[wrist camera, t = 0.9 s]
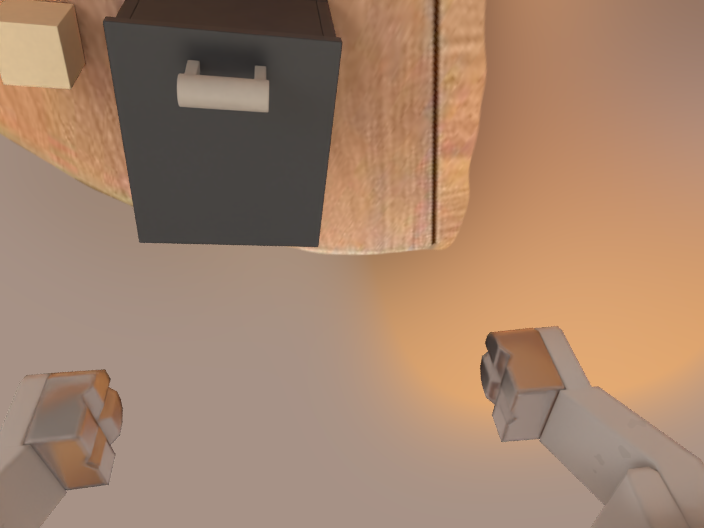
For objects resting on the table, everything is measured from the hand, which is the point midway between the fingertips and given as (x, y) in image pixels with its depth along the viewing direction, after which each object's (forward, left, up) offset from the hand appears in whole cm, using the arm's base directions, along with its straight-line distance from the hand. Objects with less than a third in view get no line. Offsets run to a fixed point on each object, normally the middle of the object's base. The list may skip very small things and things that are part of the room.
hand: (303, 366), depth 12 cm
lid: (+10, -6, -27) cm, 30 cm away
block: (+4, -18, -37) cm, 42 cm away
